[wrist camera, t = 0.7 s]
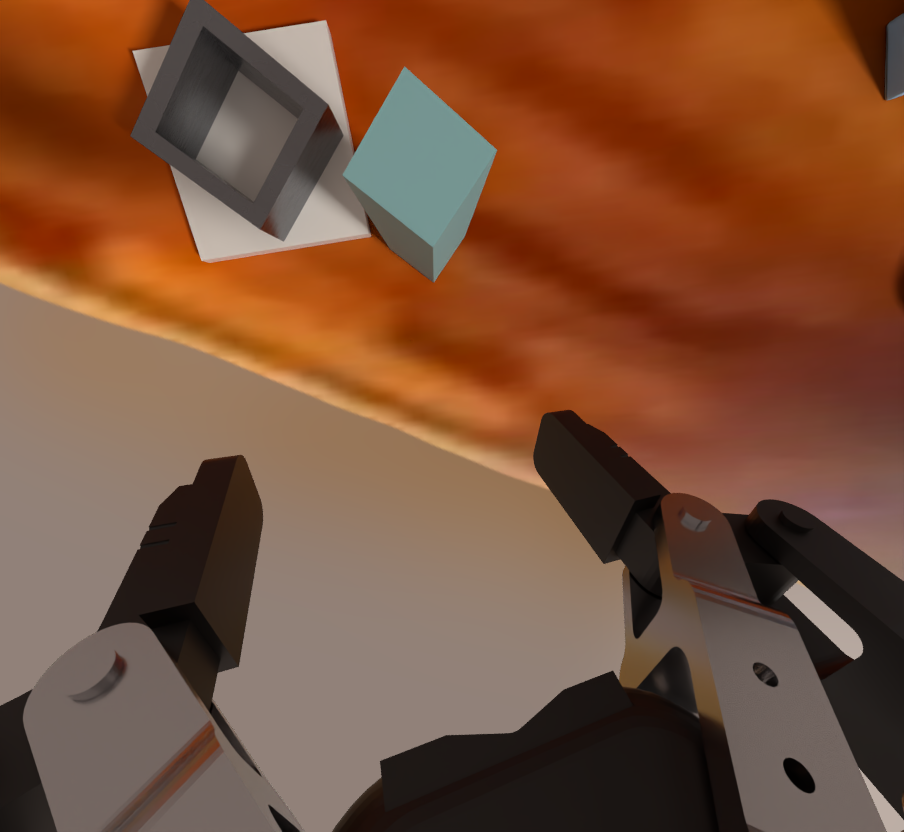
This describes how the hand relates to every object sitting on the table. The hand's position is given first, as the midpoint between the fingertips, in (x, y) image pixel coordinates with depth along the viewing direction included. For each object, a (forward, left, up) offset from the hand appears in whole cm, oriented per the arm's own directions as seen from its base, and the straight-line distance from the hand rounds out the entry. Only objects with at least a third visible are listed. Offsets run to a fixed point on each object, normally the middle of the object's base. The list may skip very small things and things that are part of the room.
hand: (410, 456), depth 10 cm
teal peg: (-9, +2, -20) cm, 22 cm away
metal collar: (-16, -8, -20) cm, 27 cm away
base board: (-16, -8, -20) cm, 27 cm away
